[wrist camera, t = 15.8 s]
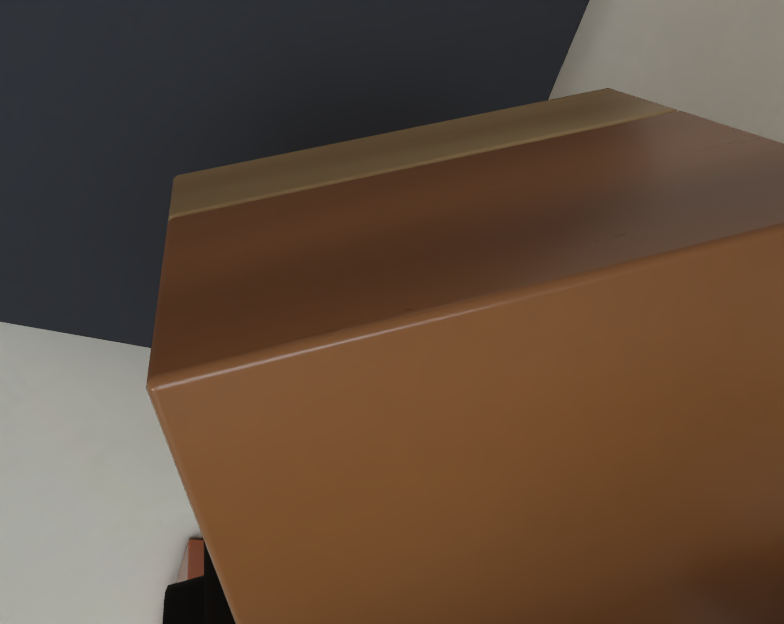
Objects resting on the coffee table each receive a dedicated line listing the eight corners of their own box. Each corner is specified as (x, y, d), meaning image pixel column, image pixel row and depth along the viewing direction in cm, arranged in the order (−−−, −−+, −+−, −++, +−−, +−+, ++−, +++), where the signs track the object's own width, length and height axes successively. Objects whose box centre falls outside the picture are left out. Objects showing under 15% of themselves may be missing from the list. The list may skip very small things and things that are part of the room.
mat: (662, -221, 13) (687, -230, 13) (416, 380, 18) (424, 396, 18) (-436, -895, 8) (-498, -979, 7) (-362, 238, 13) (-395, 254, 12)
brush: (171, 174, 8) (141, 384, 4) (610, 86, 9) (940, 188, 5) (338, 726, 13) (394, 1047, 9) (601, 640, 14) (755, 902, 10)
